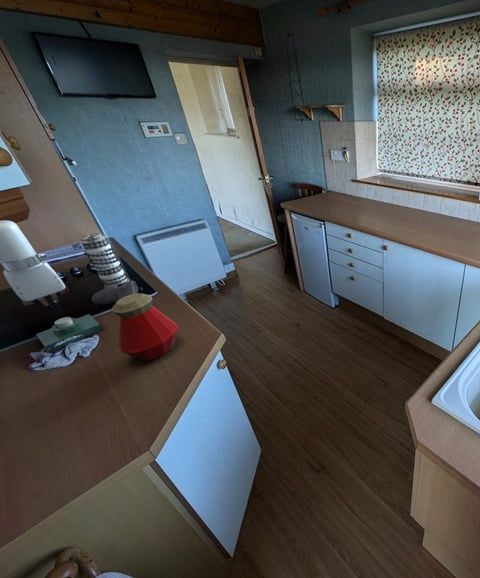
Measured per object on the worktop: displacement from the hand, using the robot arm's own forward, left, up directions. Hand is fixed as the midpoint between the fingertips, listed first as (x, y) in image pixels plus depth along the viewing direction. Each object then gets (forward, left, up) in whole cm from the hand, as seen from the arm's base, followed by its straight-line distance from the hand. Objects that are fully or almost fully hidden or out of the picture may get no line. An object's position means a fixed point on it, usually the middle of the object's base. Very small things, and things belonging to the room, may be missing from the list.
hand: (58, 312), depth 97 cm
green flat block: (0, 0, -9) cm, 9 cm away
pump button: (0, 0, -5) cm, 5 cm away
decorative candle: (+7, +31, -10) cm, 33 cm away
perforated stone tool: (+9, +20, -10) cm, 24 cm away
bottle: (+28, -23, -10) cm, 37 cm away
